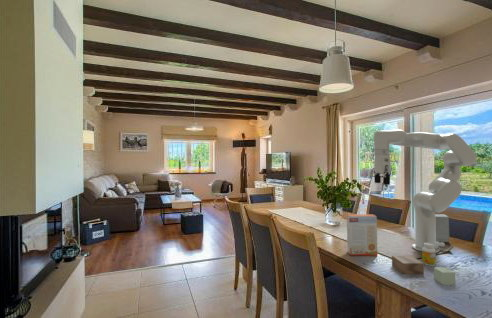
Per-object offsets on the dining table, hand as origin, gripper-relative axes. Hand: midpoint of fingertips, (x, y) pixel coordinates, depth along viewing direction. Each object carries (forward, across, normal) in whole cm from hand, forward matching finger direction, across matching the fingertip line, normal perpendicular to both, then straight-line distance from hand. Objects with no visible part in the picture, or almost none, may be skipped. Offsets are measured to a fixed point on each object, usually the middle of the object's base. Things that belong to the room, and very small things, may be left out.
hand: (381, 183), depth 147 cm
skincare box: (+37, +14, -42) cm, 58 cm away
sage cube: (+37, -38, -6) cm, 53 cm away
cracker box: (+37, -6, +14) cm, 40 cm away
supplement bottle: (+37, -20, -12) cm, 44 cm away
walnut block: (+37, -26, +2) cm, 45 cm away
